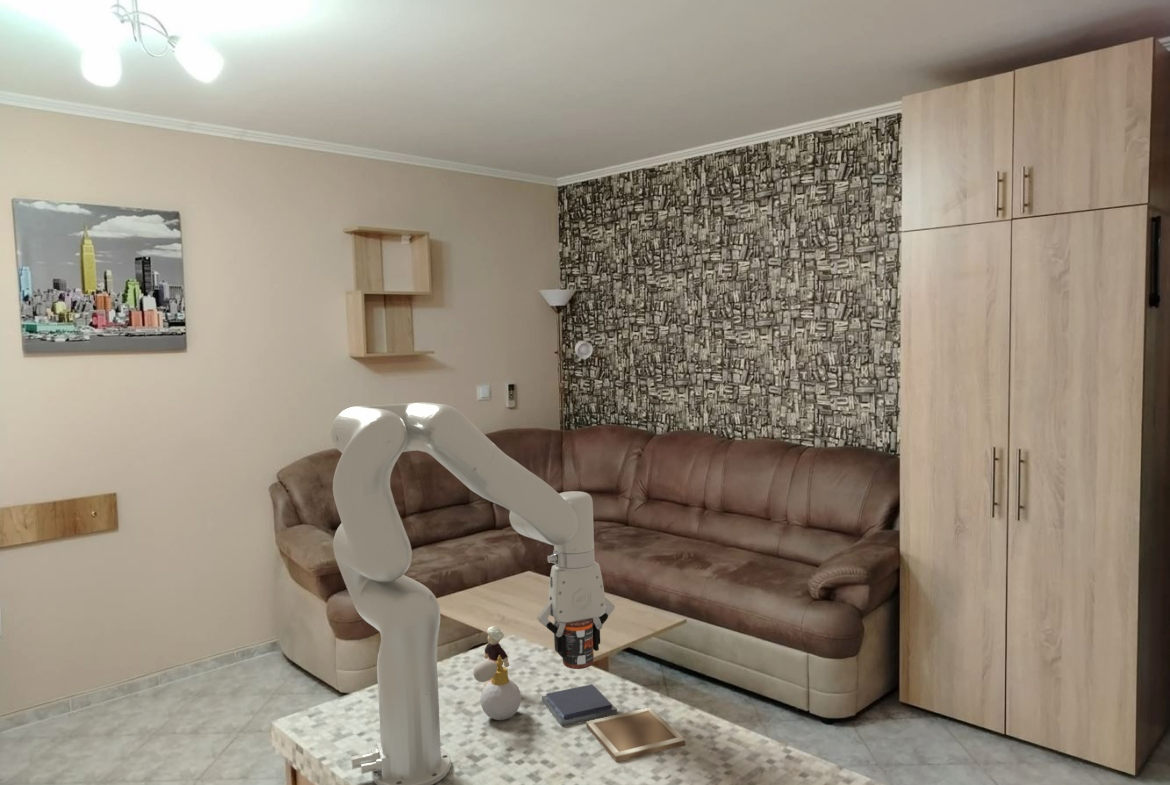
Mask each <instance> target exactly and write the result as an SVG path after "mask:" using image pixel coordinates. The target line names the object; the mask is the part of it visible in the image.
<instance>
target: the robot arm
mask: <svg viewBox="0 0 1170 785" xmlns="http://www.w3.org/2000/svg"><path fill="white" fill-rule="evenodd" d="M330 437H331V441H332V443H333V445H334V446H335V448H336V449H337V450H338V451H339V452H340V453H341V456H340V458H339V460H338V462H337V464H336V468H335V470H334V475H333V480H332V494H333V495H332V496H333V499H334V502H335V505H336V506H335V507H336V509H337V512H338V515H339V519H340V522H341V523H340V524H339V526H338V527H337V529H336V531H335V533H334V537H333V542H332V543H333V546H332V547H333V554H334V558H335V561H336V563H337V566H338V570H339V571H340V574H341V576H342V579H343V581H344V582H343V583H344V584H345V587H346V589H347V592H348V594H349V597H350V599H351V602H352V604H353V606H354V608H355V610H356V612H357V613H358V614H359V616H360V617H361V618H362V620H363V621H365V622H366V623H368V624H369V625H370V626H372V627H373V628H375V629H376V630H377V631H378V632H379V633H380V644H379V649H378V650H379V651H378V655H377V663H376V667H377V668H376V669H377V670H376V671H377V672H376V675H377V676H376V678H377V687H378V688H377V689H378V710H379V732H380V736H379V737H380V741H379V742H376V749H371V752H369V753H364V754H356V755H353V756H350V757H351V758H350V759H351V769H352V770H355V769H356V770H357V769H359V768H360V772H361V774H366V773H370V772H371V778H372V781H373V783H375V785H434V784H437V783H438V782H440V781H441V780H443V779H444V778H445V777H446V775H448V773H449V772H450V769H451V766H452V763H451V762H452V760H451V756H450V754H449V753H448V752H447V751H446V750H445V749H443V748H442V747H441V725H440V724H441V722H440V720H441V719H440V699H439V696H440V695H439V675H438V640H439V632H440V627H441V626H440V625H441V607H440V604H439V601H438V599H437V597H436V595H435V594H434V593H433V592H432V590H430V589H429V588H428V587H427V586H425V585H424V584H423V583H421V582H419V581H417V580H415V579H414V578H411V577H409V576H408V575H407V576H406V575H405V573H407V571H408V569H409V568H410V566H411V562H412V558H413V555H412V554H413V550H412V546H411V542H410V539H409V537H408V534H407V532H406V529H405V527H404V524H403V521H402V519H401V516H400V514H399V511H398V508H397V506H396V503H395V498H394V495H393V492H392V489H391V477H392V472H393V469H394V466H395V465H396V462H398V459H399V457H401V455H402V453H404V452H405V453H406V452H413V451H414V452H415V451H417V452H418V451H419V452H423V453H427V454H429V455H430V456H431V457H433V458H434V459H435V460H436V461H437V462H438V463H439V464H441V465H442V467H444V468H445V469H447V470H448V471H449V472H450V473H451V474H452V475H453V476H454V477H456V478H457V479H458V480H459V481H460V482H461V483H462V484H463V485H465V487H467V488H468V490H470V491H472V492H473V493H475V494H476V495H477V496H480V497H481V498H483V499H485V500H487V501H488V502H492V503H494V504H496V505H498V506H500V507H503V508H505V510H506V509H507V510H508V511H509V514H508V515H509V517H508V518H509V523H510V526H511V527H512V529H513V530H515V531H514V532H517V533H518V534H519V535H522V536H523V537H527V538H530V539H533V540H536V541H539V542H541V543H545V544H548V545H551V546H553V552H552V554H551V555H547V562H548V563H549V564H550V563H552V564H554V565H552V566H551V569H550V575H549V576H550V577H549V582H548V583H549V585H548V601H547V603H546V605H545V606H544V608H542V610H541V611H540V612H539V614H538V615H537V617H536V619H537V621H538V622H539V623H540V624H541V625H543V626H544V627H545V628H547V629H548V630H549V631H550V632H551V633H553V635H554V636H553V638H554V640H553V641H554V651H555V652H556V653H557V654H558V655H559V656H560V657H561V659H562V658H563V657H565V656H566V639H565V636H564V635H563V631H564V628H565V625H566V623H571V622H576V621H582V620H588V619H592V621H593V651H595V652H598V651H599V649H600V648H599V645H600V644H601V630H602V629H603V625H604V623H606V621H607V620H608V618H609V616H610V615H611V614H612V612H614V610H615V605H614V604H613V603H612V602H611V601H610V600H609V599H607V597H605V596H606V595H605V589H604V580H603V575H602V571H601V566H600V563H598V562H597V561H596V560H595V558H596V557H595V535H594V533H595V532H594V530H595V529H594V507H593V506H594V505H593V504H594V503H593V498H592V495H591V494H590V493H588V492H584V491H578V490H577V491H574V490H573V491H572V490H570V491H563V492H560V493H559V492H558V491H556V489H554V488H553V486H551V485H550V484H548V483H547V482H546V481H544V479H542V478H541V477H539V476H538V475H536V474H535V473H533V472H532V471H530V470H528V469H527V467H525V466H523V465H522V464H520V463H519V462H518V461H517V460H515V459H513V458H512V457H510V456H509V455H507V453H505V452H503V450H501V449H500V447H498V445H496V444H495V443H494V442H493V441H492V440H490V438H489V437H488V436H487V435H485V434H484V433H483V431H481V430H480V429H479V428H478V427H477V426H476V425H475V424H474V423H473V422H472V421H471V420H469V419H468V417H466V416H465V414H463V413H462V412H461V411H459V410H458V409H457V408H455V407H453V406H451V405H448V404H443V403H435V402H425V401H424V402H422V401H421V402H419V401H418V402H409V403H395V404H377V405H374V404H373V405H372V404H371V405H355V406H351V407H348V408H346V409H344V410H341V412H340V413H338V414H337V415H336V417H335V418H334V420H333V422H332V425H331V428H330ZM549 617H553V618H554V621H553V622H551V620H549Z"/></svg>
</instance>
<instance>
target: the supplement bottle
mask: <svg viewBox="0 0 1170 785" xmlns="http://www.w3.org/2000/svg"><path fill="white" fill-rule="evenodd" d="M563 635H564V636H565V639H566V656H565V657H563V658H562V657H561V659H562V664H563V666H564V667H566V668H569V669H572V670H583V669H588V668H590V666H592V665H593V664H594V661H595V660H594V658H595V656H594V649H593V621H592V619H588V620H582V621H576V622H571V623H566V625H565V628H564V631H563Z"/></svg>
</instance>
